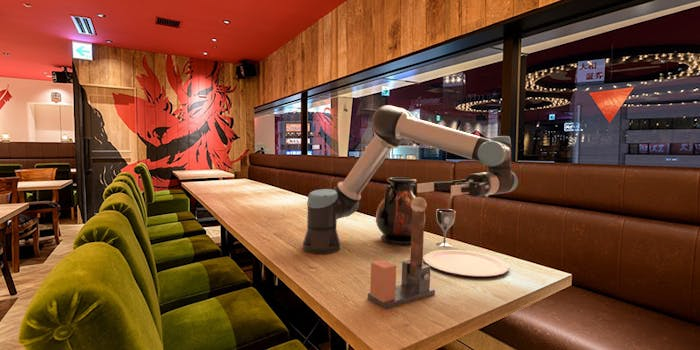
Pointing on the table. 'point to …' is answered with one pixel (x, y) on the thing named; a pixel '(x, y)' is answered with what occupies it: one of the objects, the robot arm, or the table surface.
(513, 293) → the table surface
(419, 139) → the robot arm
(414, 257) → the lever
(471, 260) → the plate
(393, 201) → the amphora vase
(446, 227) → the wine glass
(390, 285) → the stop block
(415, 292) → the press base
